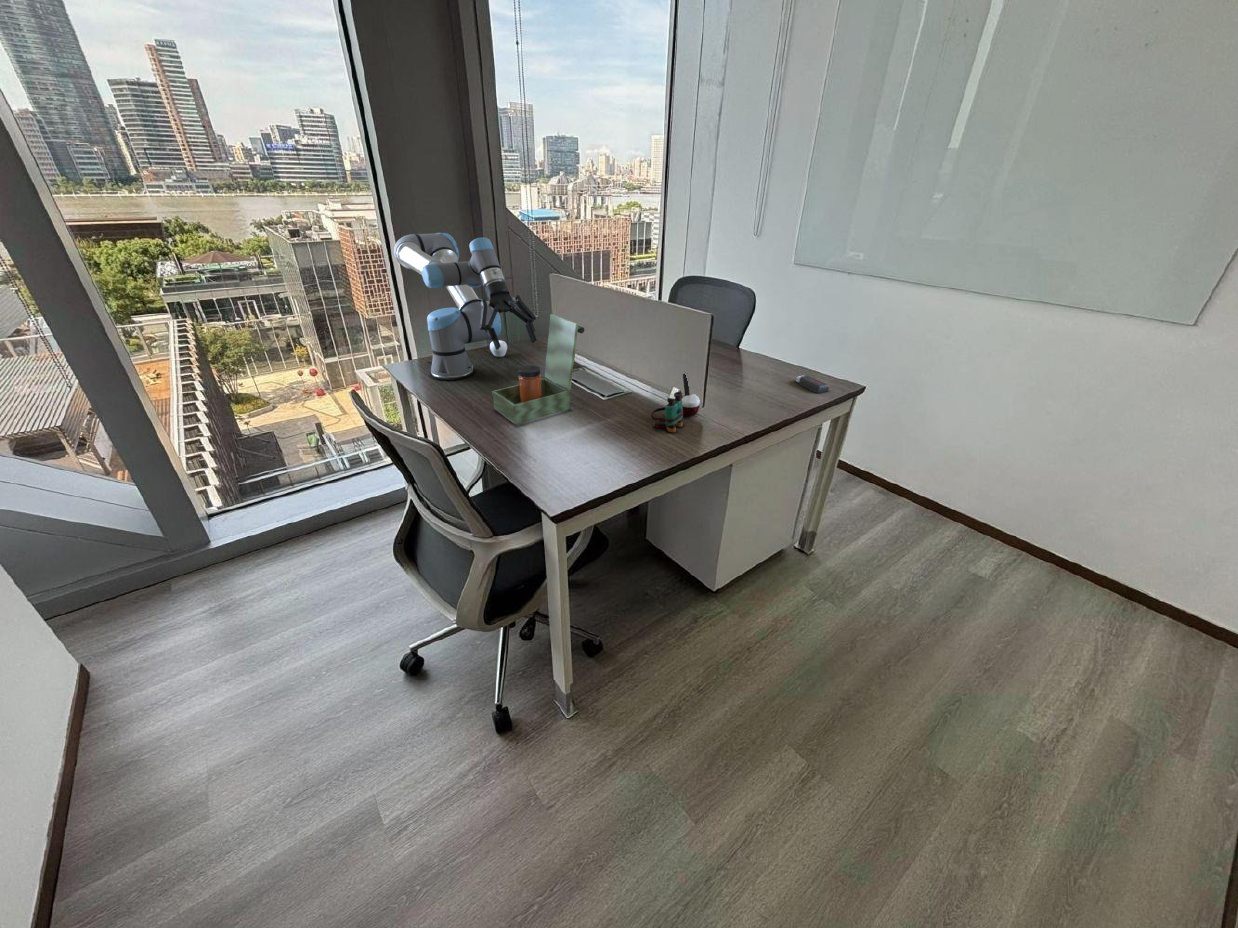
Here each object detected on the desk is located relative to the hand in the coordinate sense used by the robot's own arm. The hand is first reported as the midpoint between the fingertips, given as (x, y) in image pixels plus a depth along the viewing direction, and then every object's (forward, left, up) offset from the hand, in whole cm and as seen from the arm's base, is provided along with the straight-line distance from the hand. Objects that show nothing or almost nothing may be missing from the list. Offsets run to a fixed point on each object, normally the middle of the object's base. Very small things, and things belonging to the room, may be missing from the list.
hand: (516, 344), depth 165 cm
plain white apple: (-38, +11, -16) cm, 43 cm away
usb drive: (+61, +87, -16) cm, 107 cm away
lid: (+19, +5, +1) cm, 20 cm away
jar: (+19, -6, -15) cm, 25 cm away
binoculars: (+53, +21, -16) cm, 59 cm away
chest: (+19, -6, -16) cm, 26 cm away
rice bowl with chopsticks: (+51, +33, -16) cm, 63 cm away
